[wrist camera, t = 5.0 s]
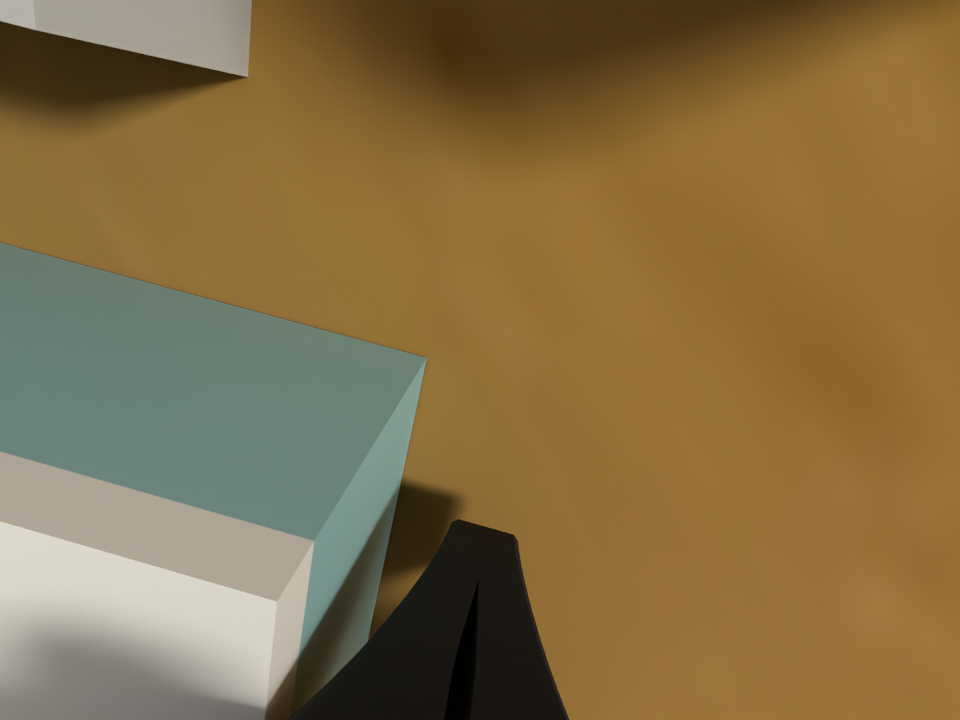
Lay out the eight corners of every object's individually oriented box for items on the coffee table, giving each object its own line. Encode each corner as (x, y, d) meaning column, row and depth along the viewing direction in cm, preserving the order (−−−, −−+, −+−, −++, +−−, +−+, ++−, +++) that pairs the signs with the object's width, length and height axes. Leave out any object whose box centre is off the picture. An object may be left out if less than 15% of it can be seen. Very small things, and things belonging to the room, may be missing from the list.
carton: (367, 639, 13) (236, 983, 8) (-37, 522, 14) (-432, 772, 8) (426, 357, 10) (277, 601, 5) (-98, 216, 11) (-798, 290, 5)
